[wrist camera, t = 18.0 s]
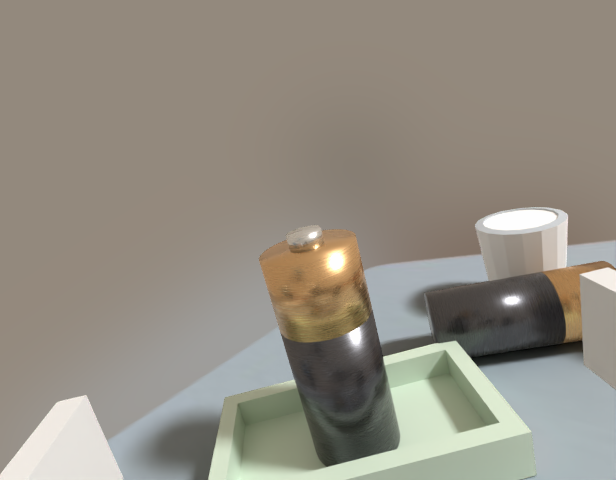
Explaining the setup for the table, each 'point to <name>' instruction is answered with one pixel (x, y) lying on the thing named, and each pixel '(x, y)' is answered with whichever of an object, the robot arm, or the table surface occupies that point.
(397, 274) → the table surface
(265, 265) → the cell
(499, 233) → the white cup
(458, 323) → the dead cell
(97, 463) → the robot arm
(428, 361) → the trough
